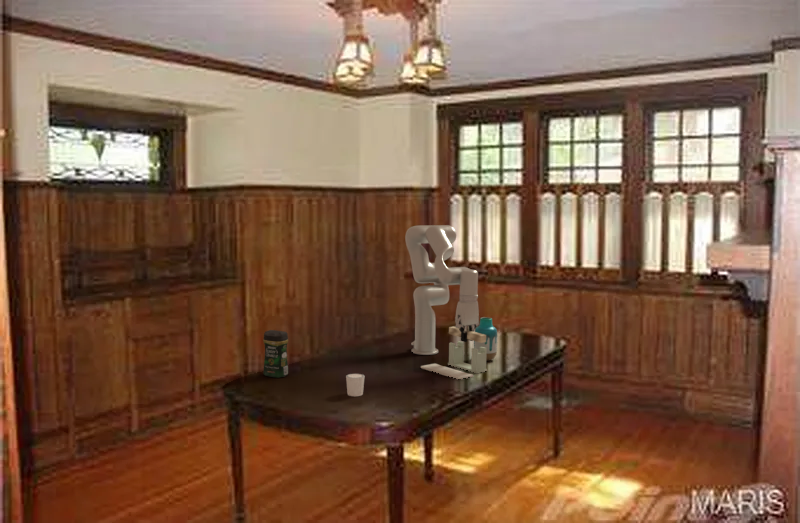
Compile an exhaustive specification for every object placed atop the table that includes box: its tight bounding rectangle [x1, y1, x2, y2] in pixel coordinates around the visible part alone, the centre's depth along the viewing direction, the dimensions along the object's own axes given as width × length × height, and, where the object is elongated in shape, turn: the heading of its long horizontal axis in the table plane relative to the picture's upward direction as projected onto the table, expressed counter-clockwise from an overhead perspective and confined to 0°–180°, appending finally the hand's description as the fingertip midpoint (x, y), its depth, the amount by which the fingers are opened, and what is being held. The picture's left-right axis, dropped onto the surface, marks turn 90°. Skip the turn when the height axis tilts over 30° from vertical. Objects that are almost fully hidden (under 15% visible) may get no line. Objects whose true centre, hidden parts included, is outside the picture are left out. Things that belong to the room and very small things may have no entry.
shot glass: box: [345, 373, 365, 397], centre depth 255 cm, size 7×7×7 cm
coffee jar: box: [262, 329, 289, 379], centre depth 280 cm, size 10×8×19 cm
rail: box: [448, 326, 486, 343], centre depth 295 cm, size 20×3×3 cm, turn 38°
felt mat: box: [420, 363, 474, 380], centre depth 289 cm, size 24×8×1 cm, turn 38°
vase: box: [473, 316, 499, 362], centre depth 311 cm, size 11×11×19 cm
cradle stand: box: [447, 340, 488, 374], centre depth 296 cm, size 18×6×10 cm, turn 38°
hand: (466, 340), depth 296 cm, fingers closed on rail, 2 cm apart
